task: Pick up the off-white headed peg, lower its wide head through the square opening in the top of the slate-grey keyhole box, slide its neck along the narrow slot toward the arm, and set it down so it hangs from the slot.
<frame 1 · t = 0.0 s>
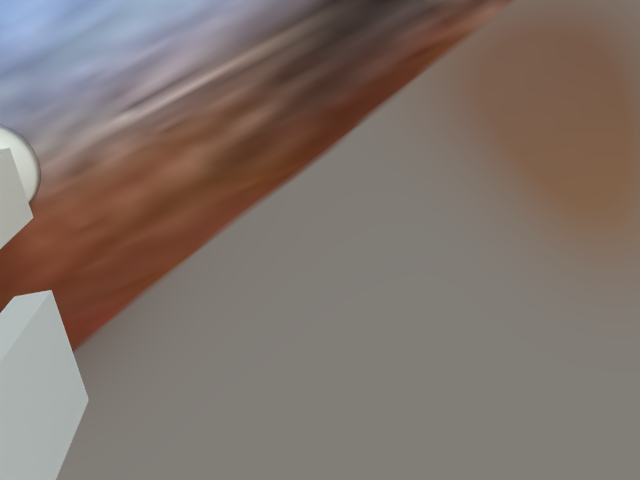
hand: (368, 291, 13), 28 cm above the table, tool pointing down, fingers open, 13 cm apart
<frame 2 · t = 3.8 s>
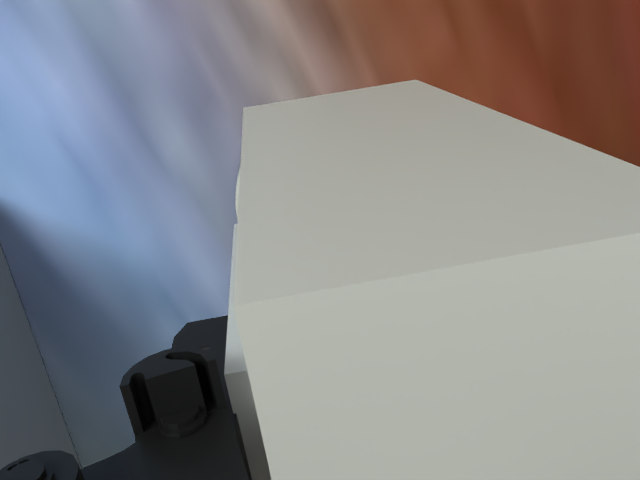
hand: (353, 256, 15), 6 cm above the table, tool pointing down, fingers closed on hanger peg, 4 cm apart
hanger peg: (324, 189, 21), on the table, touching gripper
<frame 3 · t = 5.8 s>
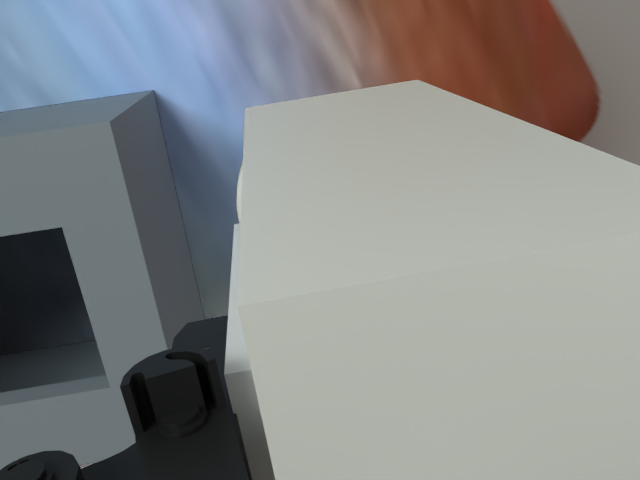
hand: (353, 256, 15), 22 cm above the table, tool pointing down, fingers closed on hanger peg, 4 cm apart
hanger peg: (325, 189, 21), point 16 cm above the table, touching gripper
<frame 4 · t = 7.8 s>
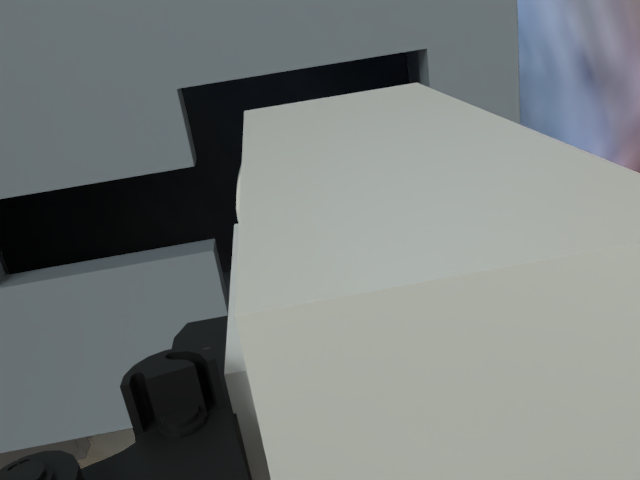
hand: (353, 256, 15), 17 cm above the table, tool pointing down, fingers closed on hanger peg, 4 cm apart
keyhole box: (198, 146, 31), on the table
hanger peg: (324, 191, 21), point 11 cm above the table, touching gripper
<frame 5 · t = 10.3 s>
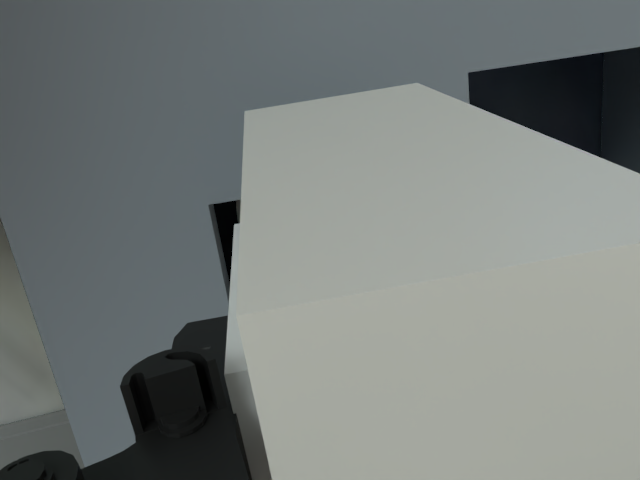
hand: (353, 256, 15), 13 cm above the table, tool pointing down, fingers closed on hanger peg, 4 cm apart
keyhole box: (371, 145, 28), on the table
cassette tape recorder: (83, 451, 32), on the table
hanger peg: (325, 191, 21), point 7 cm above the table, touching gripper
when the fingers open (12 cm above the table, at t = 12.0 s): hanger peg stays where it is, resting on keyhole box.
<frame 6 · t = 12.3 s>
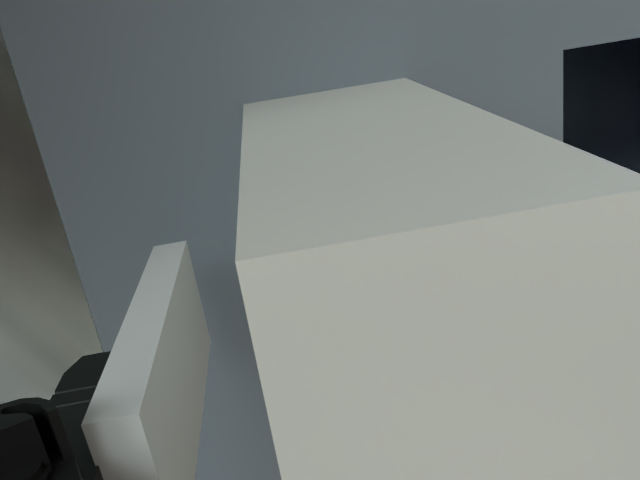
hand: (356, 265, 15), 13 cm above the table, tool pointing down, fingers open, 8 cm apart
keyhole box: (420, 133, 27), on the table
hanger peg: (320, 183, 22), point 5 cm above the table, touching keyhole box
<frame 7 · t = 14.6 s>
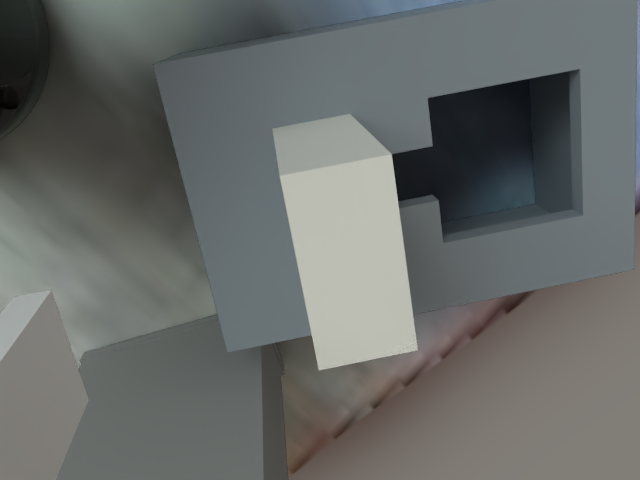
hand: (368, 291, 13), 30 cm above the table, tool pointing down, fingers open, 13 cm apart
keyhole box: (378, 139, 42), on the table
cassette tape recorder: (187, 357, 47), on the table
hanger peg: (314, 170, 38), point 5 cm above the table, touching keyhole box
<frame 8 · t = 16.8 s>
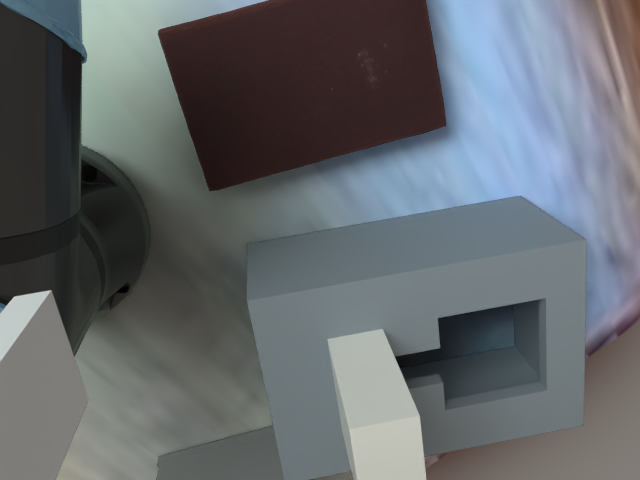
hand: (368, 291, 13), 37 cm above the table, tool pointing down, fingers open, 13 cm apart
book: (306, 77, 48), on the table
keyhole box: (394, 302, 55), on the table
cassette tape recorder: (238, 458, 59), on the table
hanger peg: (349, 340, 50), point 5 cm above the table, touching keyhole box
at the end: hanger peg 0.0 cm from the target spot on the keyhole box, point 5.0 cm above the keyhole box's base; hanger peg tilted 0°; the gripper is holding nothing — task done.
